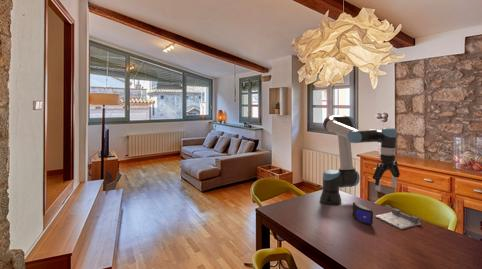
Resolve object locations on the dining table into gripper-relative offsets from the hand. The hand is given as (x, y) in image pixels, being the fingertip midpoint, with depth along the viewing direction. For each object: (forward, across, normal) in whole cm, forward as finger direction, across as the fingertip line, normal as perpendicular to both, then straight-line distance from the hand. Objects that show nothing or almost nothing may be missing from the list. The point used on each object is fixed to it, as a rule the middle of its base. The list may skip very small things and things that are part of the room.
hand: (385, 188), depth 157 cm
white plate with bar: (+22, +10, -1) cm, 24 cm away
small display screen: (+22, -9, +8) cm, 25 cm away
